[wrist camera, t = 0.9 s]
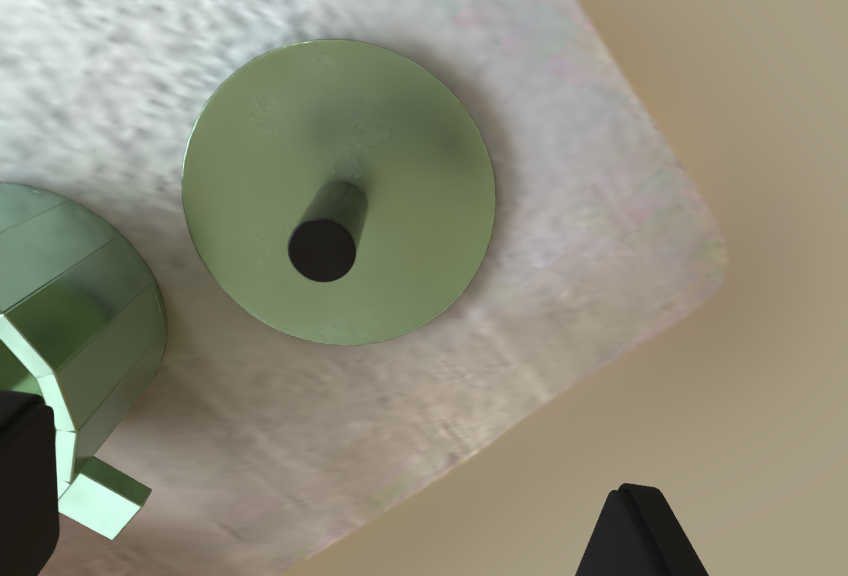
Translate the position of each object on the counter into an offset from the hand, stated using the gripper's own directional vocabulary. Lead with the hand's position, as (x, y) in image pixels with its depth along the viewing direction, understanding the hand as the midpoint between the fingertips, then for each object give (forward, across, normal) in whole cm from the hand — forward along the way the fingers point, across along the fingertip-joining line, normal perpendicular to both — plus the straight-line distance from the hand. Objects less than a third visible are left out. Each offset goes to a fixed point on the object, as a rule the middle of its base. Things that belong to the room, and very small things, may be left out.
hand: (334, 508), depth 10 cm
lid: (+18, +2, 0) cm, 18 cm away
